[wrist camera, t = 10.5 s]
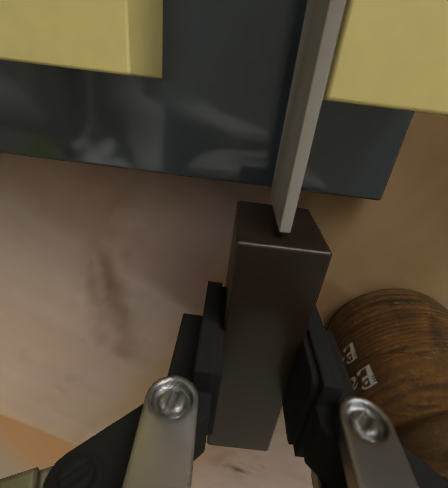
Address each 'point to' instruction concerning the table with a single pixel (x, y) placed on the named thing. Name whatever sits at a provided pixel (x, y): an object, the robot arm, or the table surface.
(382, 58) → the butter pat
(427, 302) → the utensil holder
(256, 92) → the board
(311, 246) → the table knife
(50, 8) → the butter block
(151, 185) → the table surface
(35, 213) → the table surface
